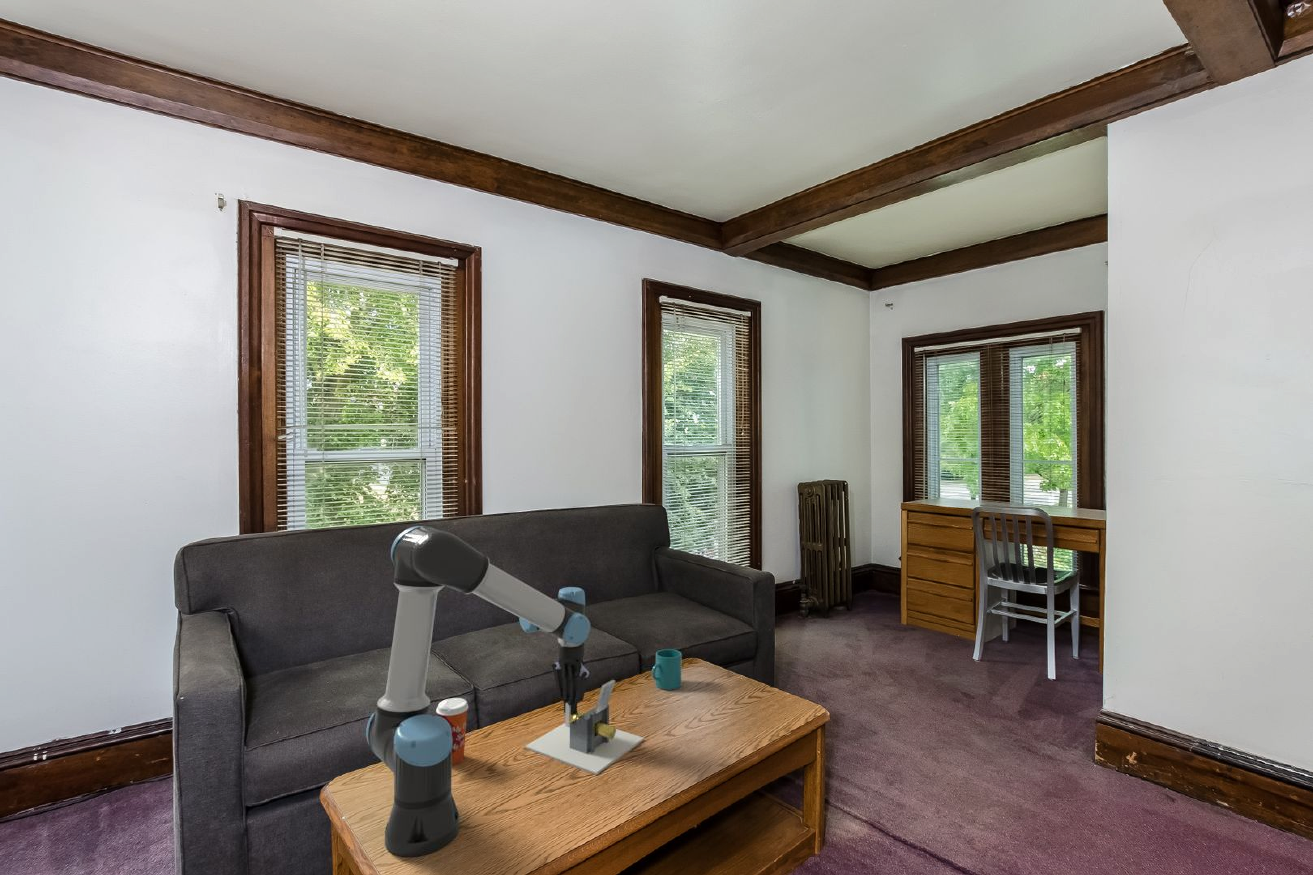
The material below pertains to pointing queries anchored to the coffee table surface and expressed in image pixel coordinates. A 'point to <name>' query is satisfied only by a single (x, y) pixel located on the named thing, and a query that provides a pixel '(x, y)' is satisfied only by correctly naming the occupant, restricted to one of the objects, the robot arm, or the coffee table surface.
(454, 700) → the coffee cup
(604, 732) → the pin
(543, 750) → the mat
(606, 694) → the grey flat brushed plate
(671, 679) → the cup
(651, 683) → the coffee table surface
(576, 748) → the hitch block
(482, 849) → the coffee table surface
